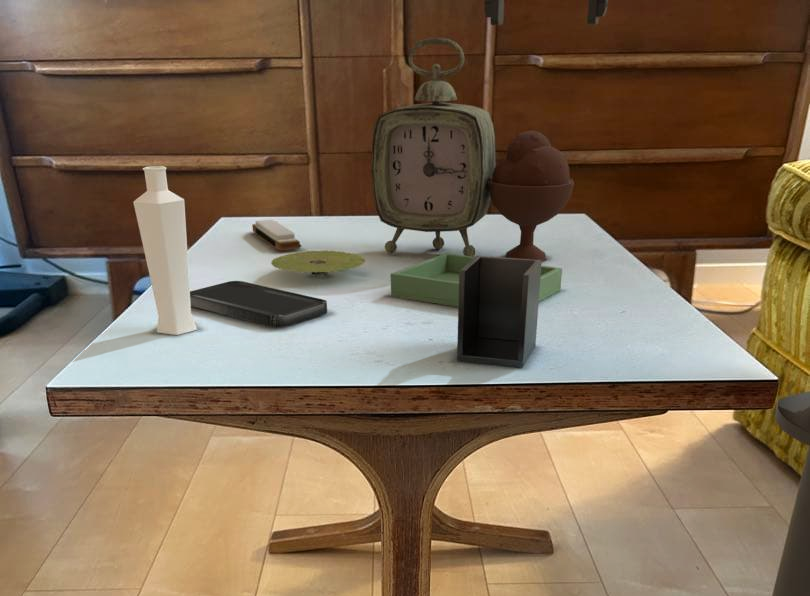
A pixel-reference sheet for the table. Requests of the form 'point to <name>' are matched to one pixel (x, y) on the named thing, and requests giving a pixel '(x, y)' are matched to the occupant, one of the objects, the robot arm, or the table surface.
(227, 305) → the phone
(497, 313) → the holder
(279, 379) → the table surface
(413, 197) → the tabletop clock
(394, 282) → the tray
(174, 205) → the perfume bottle
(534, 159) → the ice cream bowl
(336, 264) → the green round disc
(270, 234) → the harmonica
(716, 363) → the table surface
